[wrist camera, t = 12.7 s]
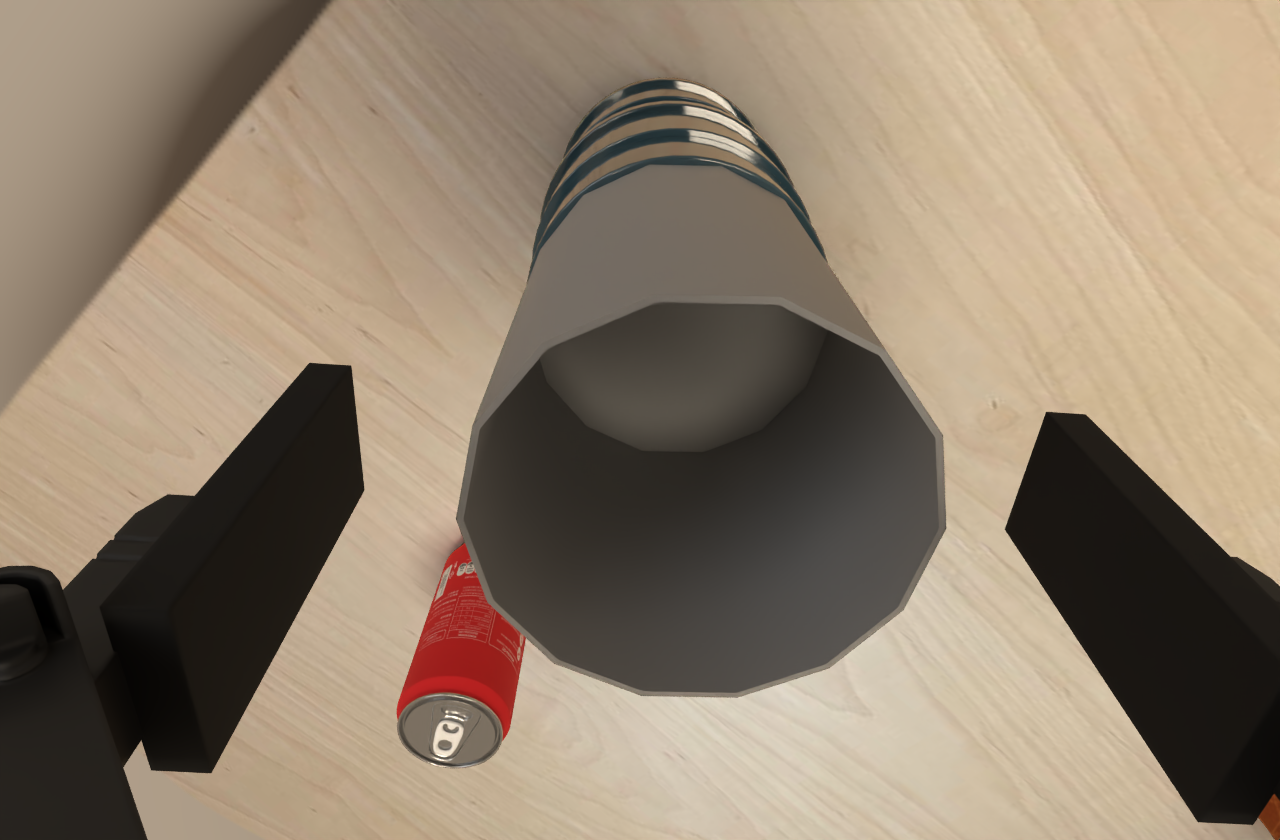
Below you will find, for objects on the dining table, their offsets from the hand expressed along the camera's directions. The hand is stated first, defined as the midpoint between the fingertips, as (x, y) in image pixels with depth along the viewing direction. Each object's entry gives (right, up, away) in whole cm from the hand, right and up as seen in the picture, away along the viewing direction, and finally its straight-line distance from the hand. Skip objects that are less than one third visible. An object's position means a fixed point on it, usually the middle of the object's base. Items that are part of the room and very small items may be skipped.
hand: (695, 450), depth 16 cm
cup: (0, +4, +7) cm, 8 cm away
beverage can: (-10, -8, +31) cm, 34 cm away
